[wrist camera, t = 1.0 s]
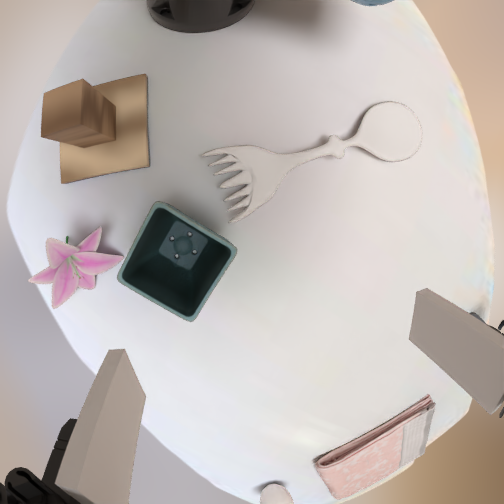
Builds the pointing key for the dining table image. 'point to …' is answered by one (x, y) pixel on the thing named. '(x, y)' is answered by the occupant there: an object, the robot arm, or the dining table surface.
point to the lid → (98, 126)
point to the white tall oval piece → (275, 495)
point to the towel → (377, 451)
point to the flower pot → (175, 261)
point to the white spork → (318, 154)
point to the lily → (73, 266)
